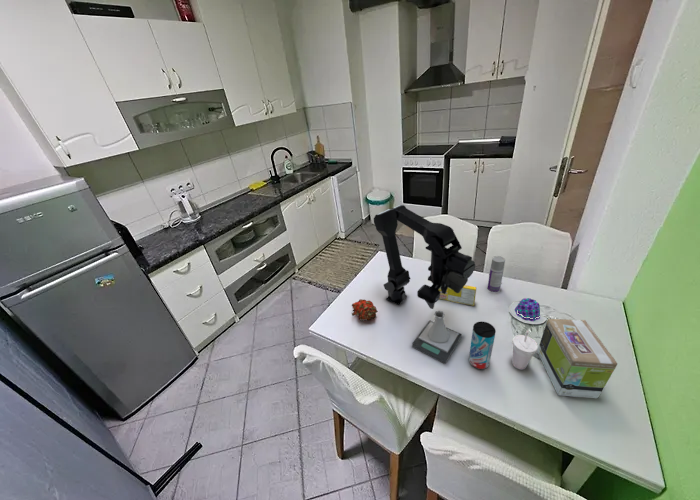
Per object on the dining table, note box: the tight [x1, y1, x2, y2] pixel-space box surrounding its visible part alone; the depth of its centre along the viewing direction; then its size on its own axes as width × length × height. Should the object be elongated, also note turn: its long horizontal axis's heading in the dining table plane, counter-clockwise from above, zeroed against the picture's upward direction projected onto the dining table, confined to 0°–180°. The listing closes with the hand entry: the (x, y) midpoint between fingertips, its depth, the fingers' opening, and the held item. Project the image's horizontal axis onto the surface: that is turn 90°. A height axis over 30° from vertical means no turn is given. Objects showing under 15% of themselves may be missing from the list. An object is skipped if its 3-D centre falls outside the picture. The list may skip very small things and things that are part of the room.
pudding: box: [508, 297, 548, 325], centre depth 101 cm, size 12×12×5 cm
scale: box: [411, 320, 463, 365], centre depth 96 cm, size 12×13×2 cm
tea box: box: [536, 318, 618, 399], centre depth 77 cm, size 15×10×15 cm, turn 170°
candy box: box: [439, 284, 477, 307], centre depth 111 cm, size 16×2×8 cm, turn 63°
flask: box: [428, 310, 449, 343], centre depth 93 cm, size 7×7×10 cm
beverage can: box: [468, 321, 497, 370], centre depth 84 cm, size 6×6×15 cm
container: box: [487, 255, 506, 293], centre depth 111 cm, size 5×5×15 cm
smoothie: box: [511, 330, 539, 370], centre depth 82 cm, size 6×6×14 cm
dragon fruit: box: [351, 298, 379, 322], centre depth 110 cm, size 8×8×12 cm
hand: (437, 300), depth 96 cm, fingers open, 9 cm apart
